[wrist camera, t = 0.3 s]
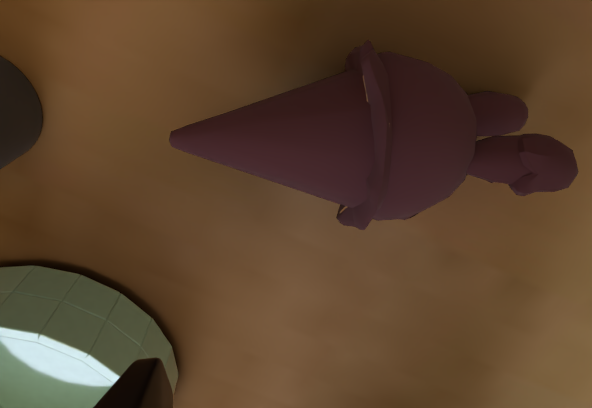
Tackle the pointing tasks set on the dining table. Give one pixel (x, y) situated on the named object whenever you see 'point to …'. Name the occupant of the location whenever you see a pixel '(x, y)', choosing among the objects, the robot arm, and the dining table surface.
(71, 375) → the bowl
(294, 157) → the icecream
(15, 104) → the pepper mill
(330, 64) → the dining table surface
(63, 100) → the dining table surface
